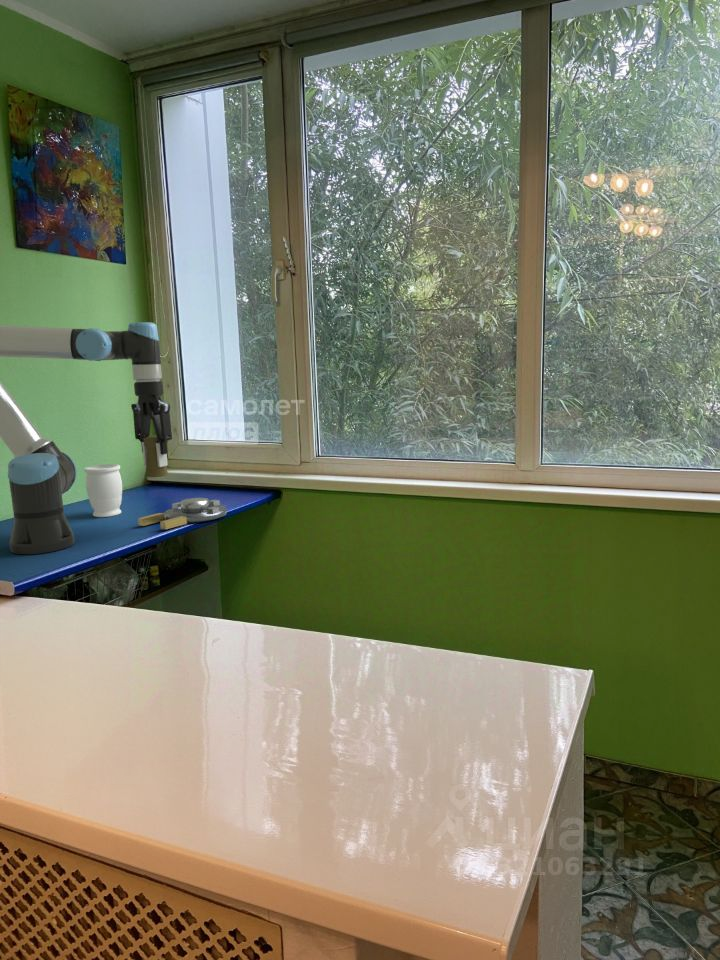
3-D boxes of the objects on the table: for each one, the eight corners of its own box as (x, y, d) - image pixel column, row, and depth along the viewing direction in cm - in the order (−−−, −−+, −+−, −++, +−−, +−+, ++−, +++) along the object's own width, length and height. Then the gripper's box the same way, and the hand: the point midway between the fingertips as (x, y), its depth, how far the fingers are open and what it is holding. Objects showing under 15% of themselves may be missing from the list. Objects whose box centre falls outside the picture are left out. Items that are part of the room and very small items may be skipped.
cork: (156, 477, 191) (152, 437, 189) (140, 476, 195) (137, 436, 193) (172, 474, 196) (169, 434, 195) (157, 473, 200) (154, 434, 198)
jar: (117, 517, 212) (112, 468, 209) (83, 519, 212) (78, 469, 209) (129, 510, 222) (125, 463, 220) (97, 511, 222) (92, 464, 220)
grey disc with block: (197, 506, 221) (196, 492, 220) (239, 512, 210) (238, 497, 210) (131, 524, 200) (129, 508, 200) (173, 530, 190) (172, 514, 189)
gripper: (181, 379, 189) (188, 465, 193) (138, 380, 199) (145, 461, 203) (159, 381, 183) (167, 469, 187) (115, 381, 193) (123, 465, 197)
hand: (155, 465), depth 195 cm, fingers closed on cork, 5 cm apart
